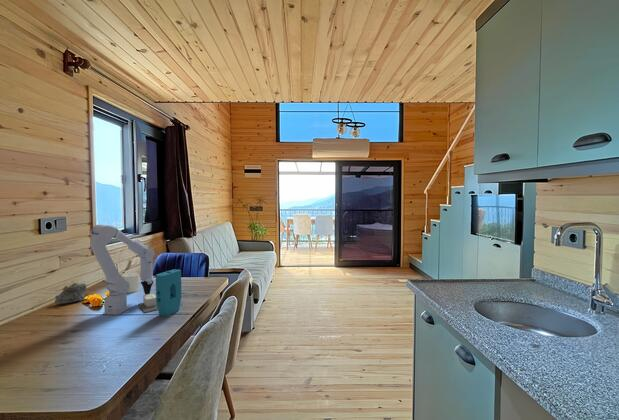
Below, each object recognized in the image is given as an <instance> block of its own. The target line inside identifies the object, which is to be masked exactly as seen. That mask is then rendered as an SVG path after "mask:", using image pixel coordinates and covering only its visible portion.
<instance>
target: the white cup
mask: <svg viewBox="0 0 619 420" xmlns="http://www.w3.org/2000/svg"><path fill="white" fill-rule="evenodd" d="M123 277H124V279H125V280H126V281H127V282H128V283H129V289H128V291H127V293H128V294H129V293H130V294H131V293H136V292H139V290H140V278H141V273H138V272H137V273H136V272H134V273H132V272H131V273H127V274H124V276H123Z"/></svg>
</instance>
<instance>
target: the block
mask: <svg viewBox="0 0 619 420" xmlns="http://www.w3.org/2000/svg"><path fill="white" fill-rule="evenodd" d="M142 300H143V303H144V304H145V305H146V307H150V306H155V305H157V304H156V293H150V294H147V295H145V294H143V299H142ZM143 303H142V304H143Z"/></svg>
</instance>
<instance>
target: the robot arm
mask: <svg viewBox="0 0 619 420" xmlns="http://www.w3.org/2000/svg"><path fill="white" fill-rule="evenodd" d="M89 234H90V249H91V252H93V256H94V257H95V258H96V260H97V263H98V265H99V266H100V268H101V270H102V272H103V274H104V275H105V276H104V277H105V278H106V279H105V288H106V290H107V291H108V293H109V294H108V297H106V298H105V299H104V302H103V304H104V308H103V309H104V312H103V313H102V315H112V316H113V315H114V316H117V315H118V316H119V315H120V314H122V313H124V312H126V311H128V310H129V309H131V308H132V307H131V306H128V300H127V299H128V298H127V297H128V295H127V291H128V289H129V283H128V282H127V281H126V280H125V277H124V276H122V275H121V273H119V271H118V269H117V267H116V264H115V263H114V260H113V259H112V257H111V254H110V253H109V251H108V249H107V245H108V243H109V242H111V240H113V239H116V240H118V241H119V242H120V243H123V244H125V245H127V249H128V250H129V251H131V252H133V253H134V254H136V255H137V257H138V258H140V259H139V261H140V263H139V264H140V265H139V266H140V277H139V281H140V284H141V285H142V288H143V292H144V295H149V294H151V290H152V286H153V285H154V280H153V279H154V278H155V279H156V275H153V273H154V271H153V269H154V267H153V261H154V256H155V253H156V252H155V251H154V249H153V248H150V247H148V246H147V244H144V243H142V241H141V240H140V239H132V238H130V237H129V236H128V235H126V234H125V233H123V232H122V231H121V230H119V228H117V227H115V226H113V225H111V224H110V225H104V224H96V225H95V226H93V228H92V229H91V230H90V233H89Z"/></svg>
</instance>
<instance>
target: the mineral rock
mask: <svg viewBox="0 0 619 420" xmlns="http://www.w3.org/2000/svg"><path fill="white" fill-rule="evenodd" d="M86 296H88V293H87V285H86V283H77V282H76V283H75V282H74V283H72V284H71V285H70V286H68V287H67V288H66V289H64V290H62V291H61V292H60V293H59V294H57V295H56V296H55V297H54V298H55V300H54V304H56V305H57V304H58V305H59V304H70V303H71V304H72V303H75V302H80V301H86V300H87V299H84V298H85V297H86Z"/></svg>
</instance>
